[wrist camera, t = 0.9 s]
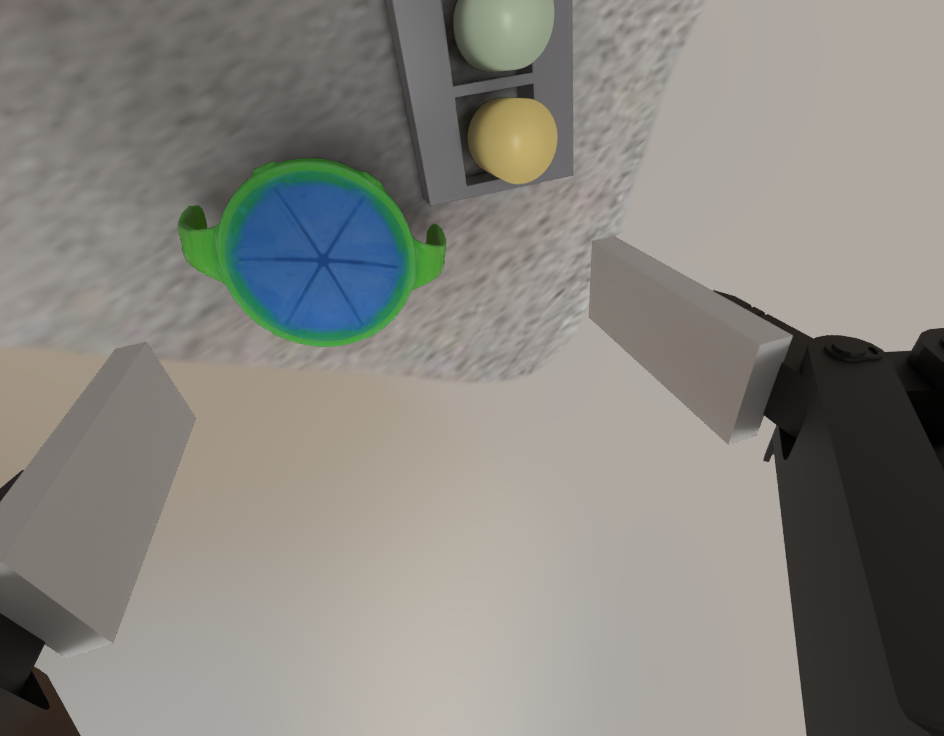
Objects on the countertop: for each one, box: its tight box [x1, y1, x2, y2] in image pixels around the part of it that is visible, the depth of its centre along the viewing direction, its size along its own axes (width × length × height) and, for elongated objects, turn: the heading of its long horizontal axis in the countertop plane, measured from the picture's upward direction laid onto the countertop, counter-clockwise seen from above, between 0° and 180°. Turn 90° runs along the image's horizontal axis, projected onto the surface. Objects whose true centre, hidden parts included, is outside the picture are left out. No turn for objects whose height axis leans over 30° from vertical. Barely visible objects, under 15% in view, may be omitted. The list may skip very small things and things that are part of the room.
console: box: [385, 0, 573, 206], centre depth 28 cm, size 19×11×3 cm, turn 8°
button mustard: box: [468, 97, 557, 184], centre depth 28 cm, size 5×5×4 cm
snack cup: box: [178, 158, 446, 347], centre depth 28 cm, size 16×10×10 cm
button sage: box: [453, 0, 554, 72], centre depth 25 cm, size 5×5×4 cm
